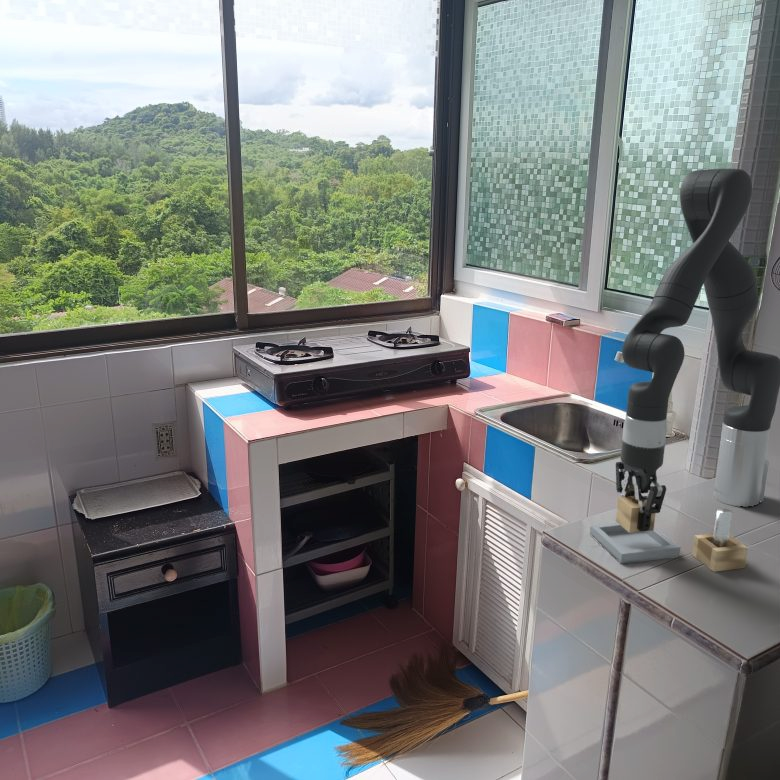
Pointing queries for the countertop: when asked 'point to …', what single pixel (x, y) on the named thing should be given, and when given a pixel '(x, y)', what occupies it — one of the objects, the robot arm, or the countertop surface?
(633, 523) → the block
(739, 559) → the oak block
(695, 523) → the countertop surface
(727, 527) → the cylinder
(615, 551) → the tray
